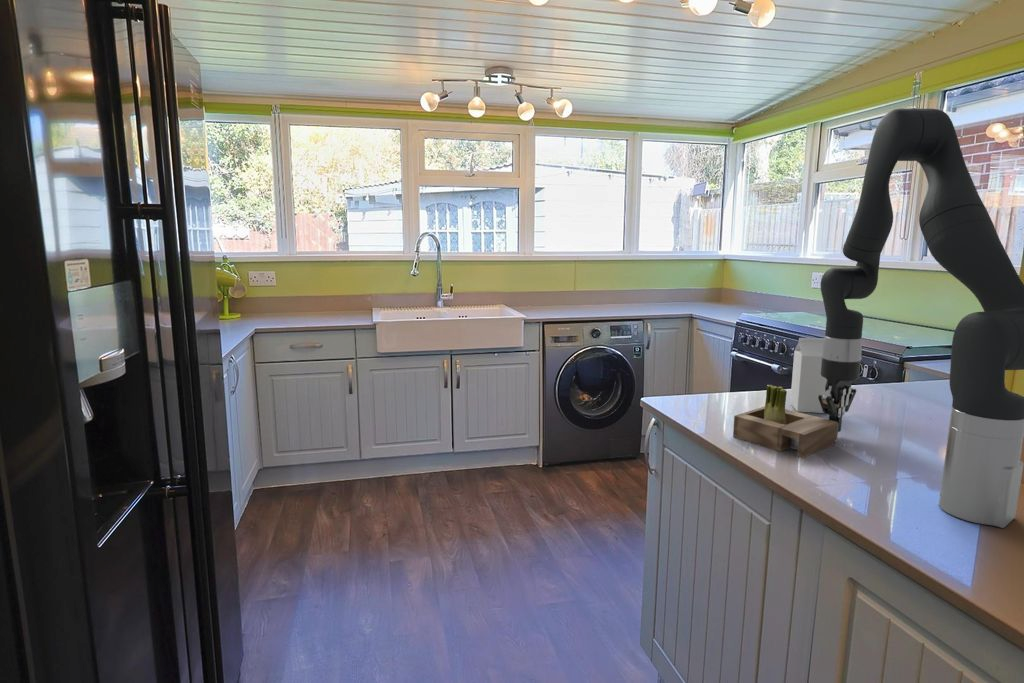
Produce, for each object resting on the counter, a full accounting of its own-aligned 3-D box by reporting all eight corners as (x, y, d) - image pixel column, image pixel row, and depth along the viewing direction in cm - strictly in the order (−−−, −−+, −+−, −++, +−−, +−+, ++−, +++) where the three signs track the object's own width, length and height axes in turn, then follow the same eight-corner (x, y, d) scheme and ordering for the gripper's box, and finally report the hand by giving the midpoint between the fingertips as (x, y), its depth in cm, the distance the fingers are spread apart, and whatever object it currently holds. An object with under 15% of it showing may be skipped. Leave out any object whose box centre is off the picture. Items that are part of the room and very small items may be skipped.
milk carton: (827, 413, 147) (833, 341, 144) (797, 412, 149) (803, 340, 145) (818, 405, 154) (824, 336, 151) (789, 404, 155) (795, 335, 152)
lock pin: (837, 439, 128) (838, 423, 127) (806, 452, 120) (807, 435, 119) (818, 434, 131) (820, 418, 130) (787, 447, 123) (789, 430, 123)
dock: (835, 443, 126) (837, 421, 125) (802, 457, 118) (804, 434, 117) (767, 425, 138) (768, 405, 138) (733, 436, 130) (734, 415, 130)
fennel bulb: (759, 432, 133) (763, 382, 131) (782, 434, 132) (786, 383, 130) (765, 441, 128) (769, 389, 125) (789, 442, 127) (793, 390, 124)
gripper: (844, 363, 120) (836, 442, 123) (873, 356, 128) (865, 430, 131) (808, 358, 126) (802, 432, 129) (838, 351, 134) (831, 422, 137)
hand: (834, 431), depth 130 cm, fingers closed
